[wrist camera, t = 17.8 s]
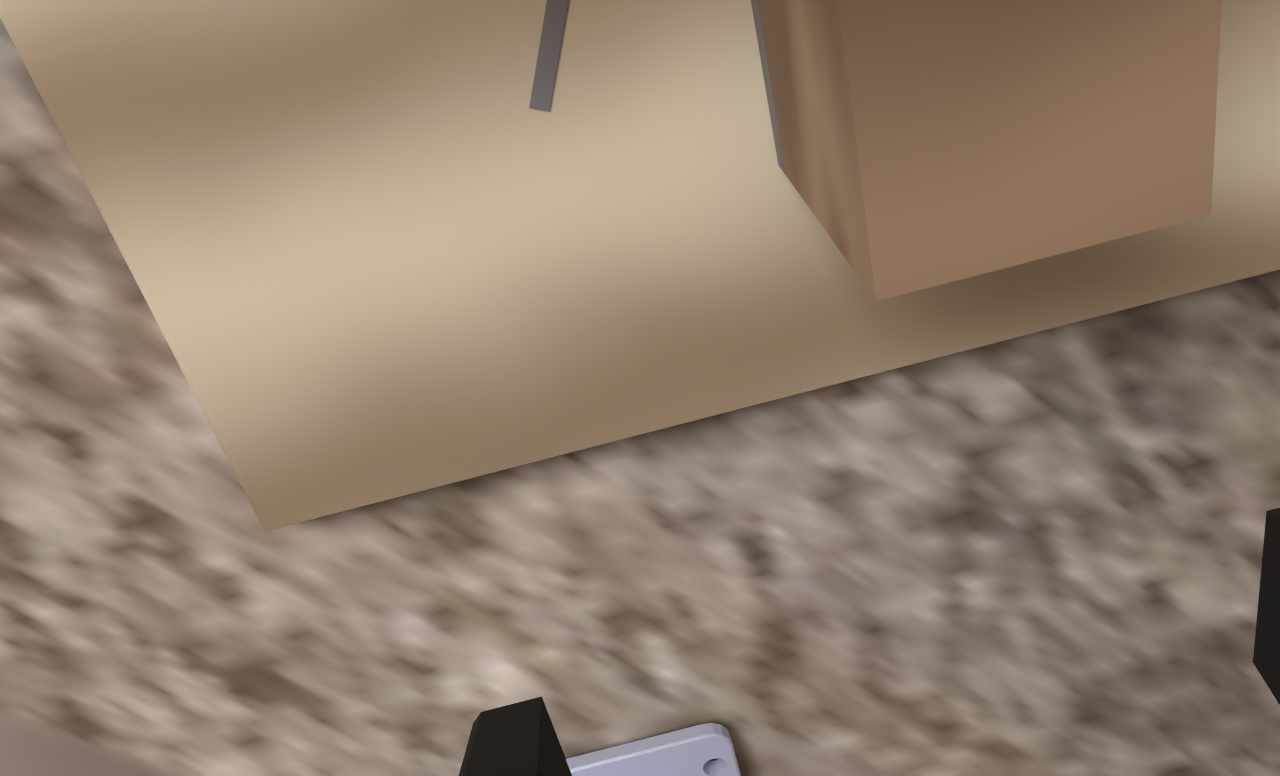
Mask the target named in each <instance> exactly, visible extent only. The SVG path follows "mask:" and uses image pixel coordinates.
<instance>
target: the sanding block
mask: <svg viewBox="0 0 1280 776" xmlns="http://www.w3.org/2000/svg"><path fill="white" fill-rule="evenodd" d="M1221 2H1222V0H751V4H752V10H753V16H754V22H755V28H756V34H757V40H758V46H759V52H760V58H761V64H762V70H763V76H764V82H765V88H766V94H767V100H768V106H769V112H770V118H771V124H772V130H773V136H774V142H775V148H776V154H777V160H778V165H779V167H780V168H781V169H782V171H783V172H784V174H785V175H786V176H787V178H788V179H789V180H790V182H791V183H792V185H793V186H794V187H795V189H796V190H797V192H798V193H799V194H800V196H801V197H802V199H803V200H804V201H805V203H806V204H807V206H808V207H809V208H810V210H811V211H812V213H813V214H814V215H815V217H816V218H817V219H818V221H819V222H820V224H821V225H822V226H823V228H824V229H825V231H826V232H827V233H828V235H829V236H830V238H831V239H832V240H833V242H834V243H835V245H836V246H837V247H838V249H839V250H840V252H841V253H842V254H843V256H844V257H845V259H846V260H847V261H848V263H849V264H850V265H851V267H852V268H853V270H854V271H855V272H856V274H857V275H858V277H859V278H860V279H861V281H862V282H863V284H864V285H865V286H866V288H867V289H868V291H869V292H870V293H871V295H872V296H873V298H874V299H875V300H876V301H880V300H884V299H888V298H892V297H895V296H899V295H903V294H907V293H911V292H915V291H919V290H922V289H926V288H930V287H934V286H938V285H942V284H946V283H950V282H953V281H957V280H961V279H965V278H969V277H973V276H977V275H980V274H984V273H988V272H992V271H996V270H1000V269H1004V268H1008V267H1011V266H1015V265H1019V264H1023V263H1027V262H1031V261H1035V260H1038V259H1042V258H1046V257H1050V256H1054V255H1058V254H1062V253H1065V252H1069V251H1073V250H1077V249H1081V248H1085V247H1089V246H1093V245H1096V244H1100V243H1104V242H1108V241H1112V240H1116V239H1120V238H1123V237H1127V236H1131V235H1135V234H1139V233H1143V232H1147V231H1151V230H1154V229H1158V228H1162V227H1166V226H1170V225H1174V224H1178V223H1181V222H1185V221H1189V220H1193V219H1197V218H1201V217H1205V216H1209V215H1211V207H1212V186H1213V166H1214V145H1215V125H1216V104H1217V84H1218V63H1219V43H1220V22H1221Z"/></svg>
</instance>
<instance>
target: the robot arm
mask: <svg viewBox="0 0 1280 776" xmlns="http://www.w3.org/2000/svg"><path fill="white" fill-rule="evenodd" d="M1253 663H1254V665H1255V666H1256V668H1257V669H1258V671H1259V673H1260V674H1261V676H1262V677H1263V679H1264V681H1265V682H1266V684H1267V685H1268V687H1269V688H1270V690H1271V692H1272V693H1273V695H1274V696H1275V698H1276V700H1277V701H1278V703H1279V704H1280V508H1277V509H1273V510H1269V511H1267V513H1266V524H1265V535H1264V547H1263V558H1262V569H1261V580H1260V591H1259V602H1258V613H1257V624H1256V635H1255V646H1254V657H1253ZM717 758H719V759H717ZM711 759H717V760H714V761H709V760H711ZM459 776H741V774H740V770H739V766H738V763H737V759H736V755H735V751H734V748H733V744H732V740H731V736H730V733H729V732H728V730H727V728H725V727H724V726H722V725H720V724H715V723H706V724H700V725H697V726H693V727H689V728H685V729H681V730H677V731H673V732H669V733H665V734H661V735H657V736H653V737H650V738H646V739H642V740H638V741H634V742H630V743H626V744H622V745H618V746H614V747H610V748H606V749H603V750H599V751H595V752H591V753H587V754H583V755H579V756H575V757H571V758H567V759H566V758H565V756H564V753H563V751H562V748H561V745H560V743H559V740H558V738H557V735H556V733H555V730H554V727H553V725H552V722H551V720H550V717H549V714H548V712H547V709H546V707H545V704H544V701H543V699H542V697H538V698H535V699H531V700H527V701H523V702H519V703H515V704H511V705H507V706H503V707H499V708H495V709H492V710H488V711H484V712H481V713H480V714H479V716H478V717H477V719H476V720H475V721H474V723H473V726H472V730H471V734H470V738H469V741H468V745H467V749H466V752H465V756H464V759H463V763H462V766H461V770H460V773H459Z"/></svg>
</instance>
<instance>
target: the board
mask: <svg viewBox="0 0 1280 776" xmlns="http://www.w3.org/2000/svg"><path fill="white" fill-rule="evenodd" d="M0 18H1V20H2V21H3V23H4V25H5V27H6V29H7V31H8V33H9V35H10V37H11V39H12V41H13V43H14V45H15V47H16V49H17V51H18V53H19V55H20V56H21V58H22V60H23V62H24V64H25V66H26V68H27V70H28V72H29V74H30V76H31V78H32V80H33V82H34V84H35V86H36V88H37V90H38V91H39V93H40V95H41V97H42V99H43V101H44V103H45V105H46V107H47V109H48V111H49V113H50V115H51V117H52V119H53V121H54V123H55V124H56V126H57V128H58V130H59V132H60V134H61V136H62V138H63V140H64V142H65V144H66V146H67V148H68V150H69V152H70V154H71V156H72V158H73V159H74V161H75V163H76V165H77V167H78V169H79V171H80V173H81V175H82V177H83V179H84V181H85V183H86V185H87V187H88V189H89V191H90V193H91V194H92V196H93V198H94V200H95V202H96V204H97V206H98V208H99V210H100V212H101V214H102V216H103V218H104V220H105V222H106V224H107V226H108V228H109V229H110V231H111V233H112V235H113V237H114V239H115V241H116V243H117V245H118V247H119V249H120V251H121V253H122V255H123V257H124V259H125V261H126V262H127V264H128V266H129V268H130V270H131V272H132V274H133V276H134V278H135V280H136V282H137V284H138V286H139V288H140V290H141V292H142V294H143V296H144V297H145V299H146V301H147V303H148V305H149V307H150V309H151V311H152V313H153V315H154V317H155V319H156V321H157V323H158V325H159V327H160V329H161V331H162V332H163V334H164V336H165V338H166V340H167V342H168V344H169V346H170V348H171V350H172V352H173V354H174V356H175V358H176V360H177V362H178V364H179V366H180V367H181V369H182V371H183V373H184V375H185V377H186V379H187V381H188V383H189V385H190V387H191V389H192V391H193V393H194V395H195V397H196V399H197V400H198V402H199V404H200V406H201V408H202V410H203V412H204V414H205V416H206V418H207V420H208V422H209V424H210V426H211V428H212V430H213V432H214V434H215V435H216V437H217V439H218V441H219V443H220V445H221V447H222V449H223V451H224V453H225V455H226V457H227V459H228V461H229V463H230V465H231V467H232V469H233V470H234V472H235V474H236V476H237V478H238V480H239V482H240V484H241V486H242V488H243V490H244V492H245V494H246V496H247V498H248V500H249V502H250V504H251V505H252V507H253V509H254V511H255V513H256V515H257V517H258V519H259V521H260V523H261V525H262V527H263V529H264V531H268V530H272V529H276V528H280V527H284V526H288V525H292V524H296V523H299V522H303V521H307V520H311V519H315V518H319V517H323V516H327V515H330V514H334V513H338V512H342V511H346V510H350V509H354V508H358V507H361V506H365V505H369V504H373V503H377V502H381V501H385V500H389V499H392V498H396V497H400V496H404V495H408V494H412V493H416V492H420V491H423V490H427V489H431V488H435V487H439V486H443V485H447V484H451V483H454V482H458V481H462V480H466V479H470V478H474V477H478V476H482V475H485V474H489V473H493V472H497V471H501V470H505V469H509V468H513V467H516V466H520V465H524V464H528V463H532V462H536V461H540V460H544V459H547V458H551V457H555V456H559V455H563V454H567V453H571V452H575V451H578V450H582V449H586V448H590V447H594V446H598V445H602V444H606V443H609V442H613V441H617V440H621V439H625V438H629V437H633V436H637V435H640V434H644V433H648V432H652V431H656V430H660V429H664V428H668V427H671V426H675V425H679V424H683V423H687V422H691V421H695V420H699V419H702V418H706V417H710V416H714V415H718V414H722V413H726V412H730V411H733V410H737V409H741V408H745V407H749V406H753V405H757V404H761V403H764V402H768V401H772V400H776V399H780V398H784V397H788V396H792V395H795V394H799V393H803V392H807V391H811V390H815V389H819V388H822V387H826V386H830V385H834V384H838V383H842V382H846V381H850V380H853V379H857V378H861V377H865V376H869V375H873V374H877V373H881V372H884V371H888V370H892V369H896V368H900V367H904V366H908V365H912V364H915V363H919V362H923V361H927V360H931V359H935V358H939V357H943V356H946V355H950V354H954V353H958V352H962V351H966V350H970V349H974V348H977V347H981V346H985V345H989V344H993V343H997V342H1001V341H1005V340H1008V339H1012V338H1016V337H1020V336H1024V335H1028V334H1032V333H1036V332H1039V331H1043V330H1047V329H1051V328H1055V327H1059V326H1063V325H1067V324H1070V323H1074V322H1078V321H1082V320H1086V319H1090V318H1094V317H1098V316H1101V315H1105V314H1109V313H1113V312H1117V311H1121V310H1125V309H1129V308H1132V307H1136V306H1140V305H1144V304H1148V303H1152V302H1156V301H1160V300H1163V299H1167V298H1171V297H1175V296H1179V295H1183V294H1187V293H1191V292H1194V291H1198V290H1202V289H1206V288H1210V287H1214V286H1218V285H1222V284H1225V283H1229V282H1233V281H1237V280H1241V279H1245V278H1249V277H1253V276H1256V275H1260V274H1264V273H1268V272H1272V271H1276V270H1280V0H1222V2H1221V22H1220V43H1219V63H1218V84H1217V104H1216V125H1215V145H1214V166H1213V186H1212V207H1211V215H1209V216H1205V217H1201V218H1197V219H1193V220H1189V221H1185V222H1181V223H1178V224H1174V225H1170V226H1166V227H1162V228H1158V229H1154V230H1151V231H1147V232H1143V233H1139V234H1135V235H1131V236H1127V237H1123V238H1120V239H1116V240H1112V241H1108V242H1104V243H1100V244H1096V245H1093V246H1089V247H1085V248H1081V249H1077V250H1073V251H1069V252H1065V253H1062V254H1058V255H1054V256H1050V257H1046V258H1042V259H1038V260H1035V261H1031V262H1027V263H1023V264H1019V265H1015V266H1011V267H1008V268H1004V269H1000V270H996V271H992V272H988V273H984V274H980V275H977V276H973V277H969V278H965V279H961V280H957V281H953V282H950V283H946V284H942V285H938V286H934V287H930V288H926V289H922V290H919V291H915V292H911V293H907V294H903V295H899V296H895V297H892V298H888V299H884V300H880V301H876V300H875V299H874V298H873V296H872V295H871V293H870V292H869V291H868V289H867V288H866V286H865V285H864V284H863V282H862V281H861V279H860V278H859V277H858V275H857V274H856V272H855V271H854V270H853V268H852V267H851V265H850V264H849V263H848V261H847V260H846V259H845V257H844V256H843V254H842V253H841V252H840V250H839V249H838V247H837V246H836V245H835V243H834V242H833V240H832V239H831V238H830V236H829V235H828V233H827V232H826V231H825V229H824V228H823V226H822V225H821V224H820V222H819V221H818V219H817V218H816V217H815V215H814V214H813V213H812V211H811V210H810V208H809V207H808V206H807V204H806V203H805V201H804V200H803V199H802V197H801V196H800V194H799V193H798V192H797V190H796V189H795V187H794V186H793V185H792V183H791V182H790V180H789V179H788V178H787V176H786V175H785V174H784V172H783V171H782V169H781V168H780V167H779V165H778V160H777V154H776V148H775V142H774V136H773V130H772V124H771V118H770V112H769V106H768V100H767V94H766V88H765V82H764V76H763V70H762V64H761V58H760V52H759V46H758V40H757V34H756V28H755V22H754V16H753V10H752V4H751V0H0Z"/></svg>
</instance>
